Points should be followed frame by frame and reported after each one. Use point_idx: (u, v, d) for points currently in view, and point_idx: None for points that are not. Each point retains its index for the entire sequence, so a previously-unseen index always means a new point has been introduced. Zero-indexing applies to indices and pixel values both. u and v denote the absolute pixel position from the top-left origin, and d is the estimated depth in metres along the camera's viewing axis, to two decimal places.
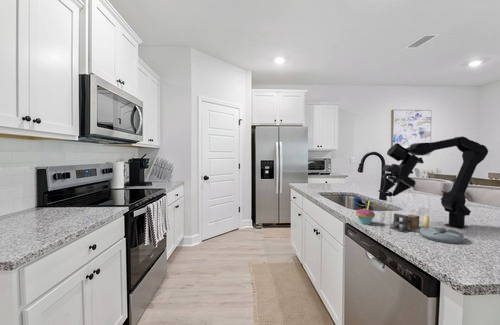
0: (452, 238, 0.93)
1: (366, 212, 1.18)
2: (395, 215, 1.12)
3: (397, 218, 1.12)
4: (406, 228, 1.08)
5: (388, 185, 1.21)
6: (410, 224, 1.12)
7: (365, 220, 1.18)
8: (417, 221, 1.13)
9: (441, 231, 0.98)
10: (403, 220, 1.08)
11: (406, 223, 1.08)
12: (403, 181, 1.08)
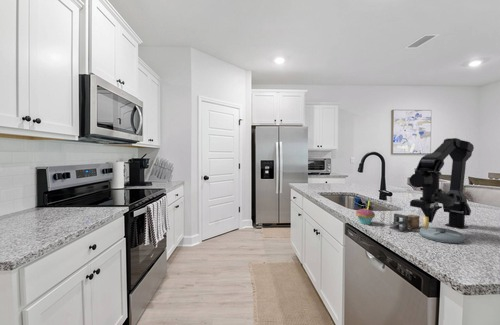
0: (453, 238, 0.93)
1: (366, 212, 1.18)
2: (395, 215, 1.12)
3: (397, 218, 1.12)
4: (406, 228, 1.08)
5: None
6: (410, 224, 1.12)
7: (365, 220, 1.18)
8: (417, 221, 1.13)
9: (441, 231, 0.98)
10: (403, 220, 1.08)
11: (406, 223, 1.08)
12: (438, 205, 1.05)
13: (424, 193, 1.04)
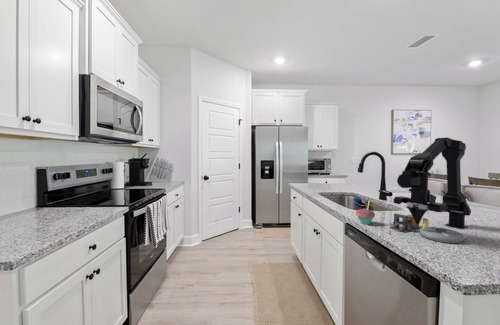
0: (463, 236, 0.94)
1: (366, 212, 1.18)
2: (395, 215, 1.12)
3: (397, 218, 1.12)
4: (406, 228, 1.08)
5: None
6: (410, 224, 1.12)
7: (365, 220, 1.18)
8: None
9: (445, 231, 0.98)
10: (403, 220, 1.08)
11: (406, 223, 1.08)
12: None
13: (424, 195, 1.00)
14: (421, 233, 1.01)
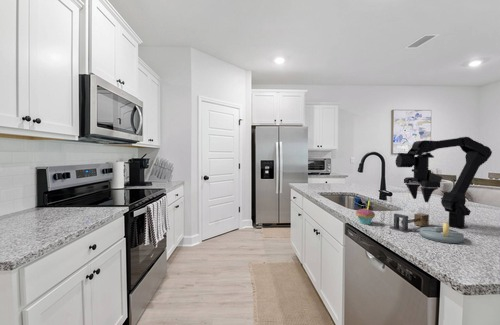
0: None
1: (366, 212, 1.18)
2: (395, 215, 1.12)
3: (397, 218, 1.12)
4: (406, 228, 1.08)
5: None
6: (420, 222, 1.15)
7: (365, 220, 1.18)
8: (426, 220, 1.16)
9: None
10: (403, 220, 1.08)
11: (406, 223, 1.08)
12: None
13: (422, 174, 1.13)
14: (448, 240, 0.93)
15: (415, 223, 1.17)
